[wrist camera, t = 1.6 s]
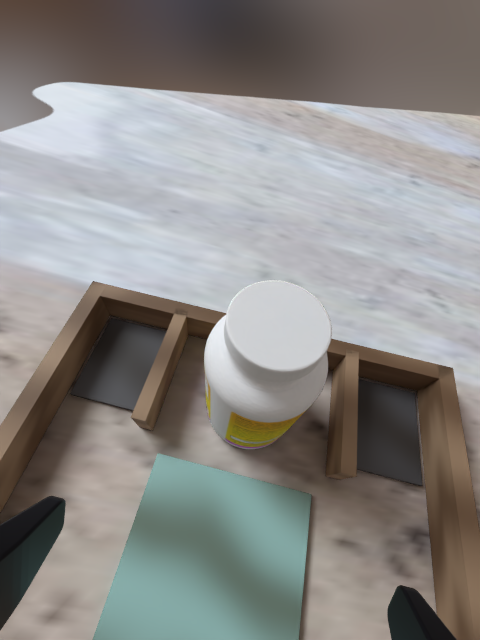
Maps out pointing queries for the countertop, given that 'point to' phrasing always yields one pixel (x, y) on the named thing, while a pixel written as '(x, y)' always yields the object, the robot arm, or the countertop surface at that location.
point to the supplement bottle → (265, 362)
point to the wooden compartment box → (247, 478)
